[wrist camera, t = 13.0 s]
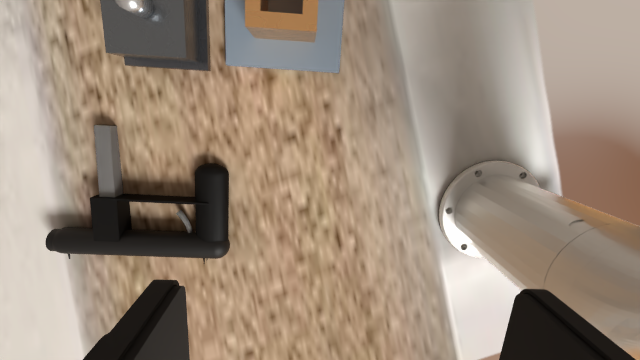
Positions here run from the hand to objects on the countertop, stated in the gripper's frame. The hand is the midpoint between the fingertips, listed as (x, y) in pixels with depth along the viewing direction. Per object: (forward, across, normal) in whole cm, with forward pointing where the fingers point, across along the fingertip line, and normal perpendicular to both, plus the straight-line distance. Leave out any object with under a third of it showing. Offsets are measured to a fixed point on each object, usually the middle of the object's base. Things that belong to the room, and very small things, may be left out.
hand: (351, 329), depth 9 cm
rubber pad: (+28, +4, -15) cm, 32 cm away
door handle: (+29, +20, +6) cm, 36 cm away
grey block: (+28, +16, -15) cm, 36 cm away
